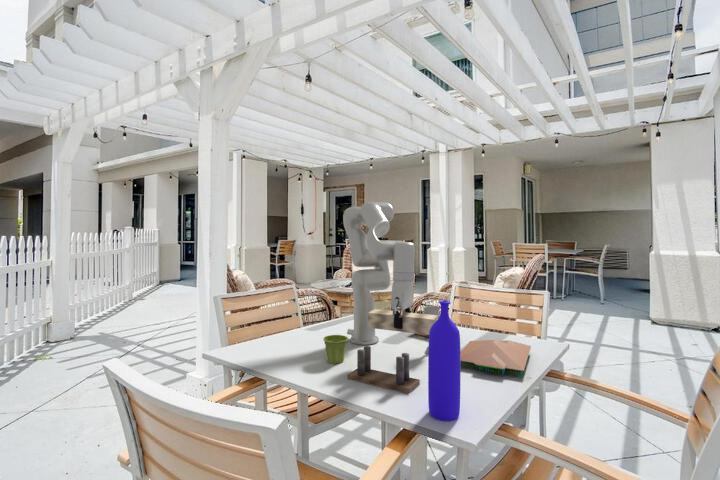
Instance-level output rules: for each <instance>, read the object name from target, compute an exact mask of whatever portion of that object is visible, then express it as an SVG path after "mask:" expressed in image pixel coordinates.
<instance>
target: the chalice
mask: <svg viewBox="0 0 720 480" xmlns="http://www.w3.org/2000/svg"><path fill="white" fill-rule="evenodd" d="M422 309H423V314H429V315H438V319H439V317H440V311H441V306H440V307H439V306H435V305H426V306H423V307H422ZM428 351H429V345H428V346H427V347H426V349H425V351H424V353H425V354H426V355H428Z"/></svg>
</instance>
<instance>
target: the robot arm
mask: <svg viewBox="0 0 720 480" xmlns="http://www.w3.org/2000/svg"><path fill="white" fill-rule="evenodd" d="M394 216H395V211H394V208H393V205H391V204H390V202H384V201H383V202H381V201H367V202H365V203H363V204H362V205H361V206H351V207H348V208H346V209H345V210H344V211H343V216H342V219H343V220H342V222H343V227H344V229H345V232H346V235H347V238H348V242H349V248H350V250H349V251H350V255H351V262H352V264H353V266H354V267H355V268H364V269H358V270H355V271H354V272H353V273H352V275H351V286H352V295H353V296H352V297H353V329H351V328H348V329H347V331H346V335H351V337H350V338H349V339H350V342H351V343H352V344H354V345H362V346H363V345H364V346H368V345H369V346H370V345H374V344H377V343H379V341H380V340H379V339H380V338H379V337H378V336H376V329H375V328H368V313H369V312H370V311H372V310H373V309H376V300H375V297H374V296H373V295H372V293H371V292H373V291H383V290H387V289H389V287H390V286H391V275H390V274H391V272H390V269H389V262H390V261H393V262H392V265H393V266H392V274H393V275H392V286H391V294H390V295H391V296H390V308H391V311H393V317H394V328H398V329H402V328H403V318H402V313H403V312H409V313H413V305H414V299H415V298H414V297H415V296H414V294H415V292H414V282H415V253H416V251H415V244H414V243H413V242H410V241H404V240H380V238H381V237H384V236H385V235H386V234H387V233H388V232H389V231H390V228H391V224H390V222H391V221H392V220H393V219H394ZM360 226H365V227H366V228H367V229H368V231H367V233H366V232H365V230H363V229H362V228H361V227H360ZM365 268H367V269H365ZM368 268H369V269H368ZM372 268H373V269H372ZM399 312H400V313H399Z"/></svg>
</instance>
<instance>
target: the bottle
mask: <svg viewBox="0 0 720 480" xmlns="http://www.w3.org/2000/svg"><path fill="white" fill-rule="evenodd" d="M438 304H439V305H440V313H439V319H438V320H437V321H436V322H435V323H434V324H433V325H432V327H431V328H430V331H429V337H428V346H429V351H428V354H427V355H428V356H427V357H428V360H427V362H428V363H427V365H428V366H427V367H428V370H427V372H428V373H427V375H428V376H427V378H428V379H427V380H428V382H427V385H428V387H427V388H428V389H427V394H428V399H427V400H428V401H427V402H428V412H429V413H428V414H429V415H430V416H431V417H432V418H433V419H436V420H438V421H443V422H452V421H456V420H457V419H458V418H459V416H460V411H461V363H460V352H461V335H460V333H461V332H460V330H459V329H458V327H457V325H456V324H455V322H454V321H453V320H452V319H451V318H450V316H449V315H450V314H449V305H450V304H451V301H449V300H442V299H441V300H438Z"/></svg>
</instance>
